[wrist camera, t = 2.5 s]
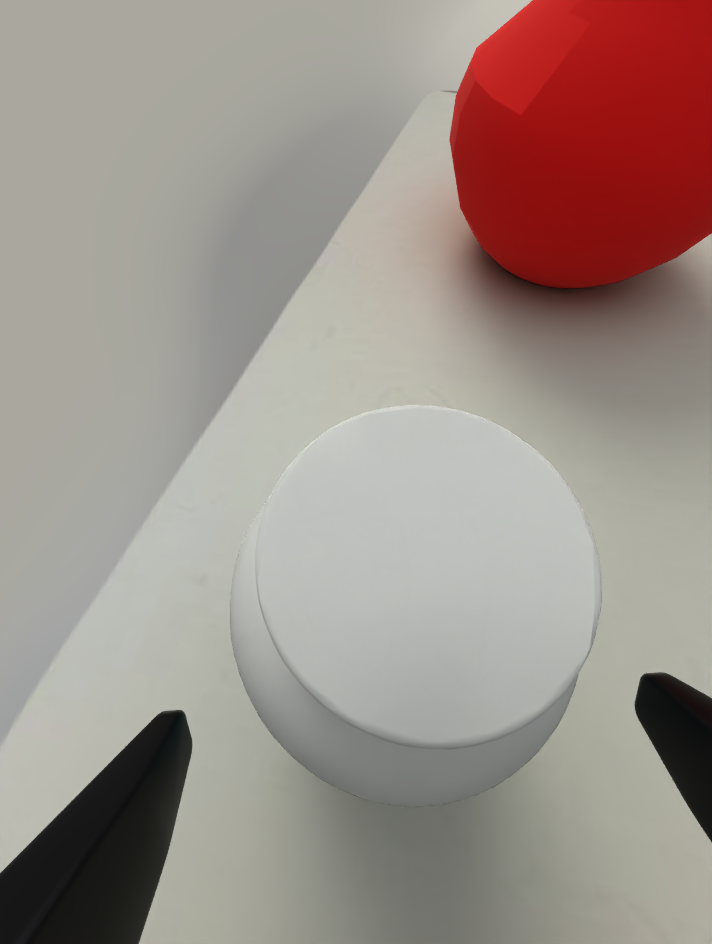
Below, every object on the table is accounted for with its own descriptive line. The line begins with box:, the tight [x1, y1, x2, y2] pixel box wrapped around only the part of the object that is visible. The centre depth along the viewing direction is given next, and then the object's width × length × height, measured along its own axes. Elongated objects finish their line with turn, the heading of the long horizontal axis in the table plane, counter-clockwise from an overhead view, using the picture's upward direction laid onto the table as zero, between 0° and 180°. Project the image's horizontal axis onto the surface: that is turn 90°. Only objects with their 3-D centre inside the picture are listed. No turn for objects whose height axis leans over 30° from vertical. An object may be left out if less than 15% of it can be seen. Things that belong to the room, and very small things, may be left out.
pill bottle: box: [230, 405, 602, 807], centre depth 11 cm, size 8×7×14 cm
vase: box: [450, 0, 712, 288], centre depth 21 cm, size 18×18×19 cm
